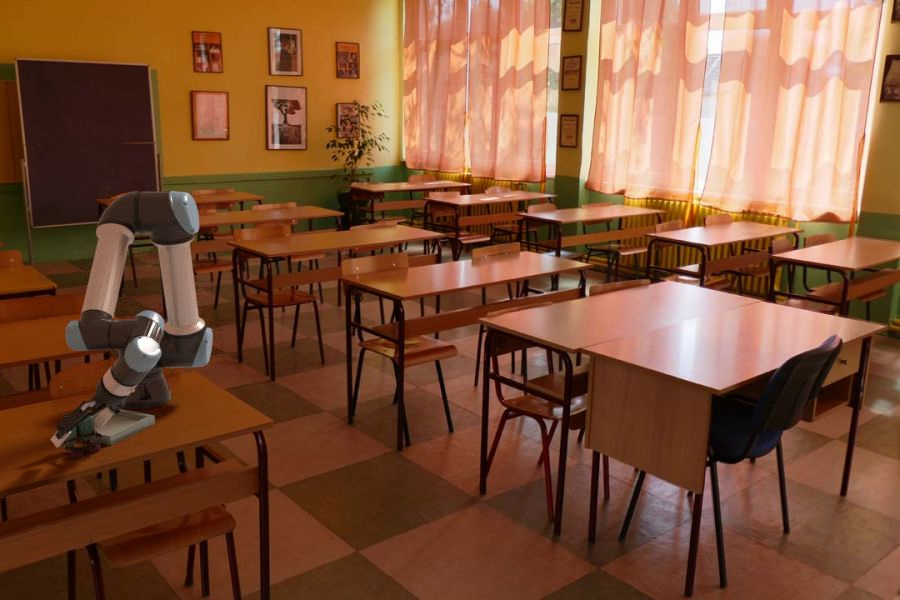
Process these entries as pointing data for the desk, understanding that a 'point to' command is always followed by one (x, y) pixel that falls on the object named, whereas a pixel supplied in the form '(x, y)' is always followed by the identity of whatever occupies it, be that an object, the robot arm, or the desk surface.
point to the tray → (122, 426)
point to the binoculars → (82, 439)
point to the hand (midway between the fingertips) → (77, 433)
